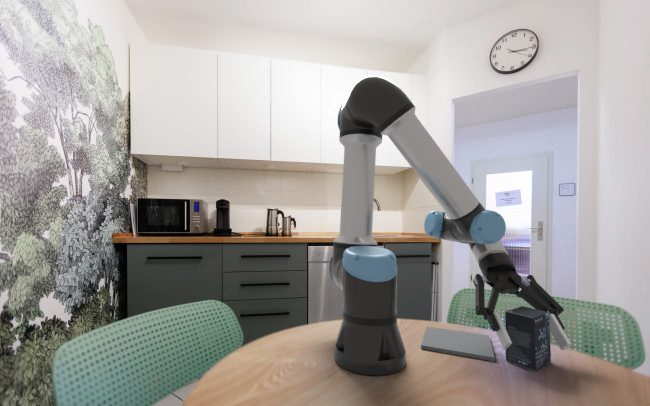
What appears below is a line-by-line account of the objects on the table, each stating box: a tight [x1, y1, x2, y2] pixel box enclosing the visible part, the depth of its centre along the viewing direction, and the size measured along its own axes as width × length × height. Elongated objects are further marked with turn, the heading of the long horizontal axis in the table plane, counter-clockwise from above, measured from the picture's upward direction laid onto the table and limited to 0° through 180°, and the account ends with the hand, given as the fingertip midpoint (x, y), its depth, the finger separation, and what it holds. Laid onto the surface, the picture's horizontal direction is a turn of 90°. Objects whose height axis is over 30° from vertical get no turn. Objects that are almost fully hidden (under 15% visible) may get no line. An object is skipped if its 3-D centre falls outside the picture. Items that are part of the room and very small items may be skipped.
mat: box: [420, 326, 496, 362], centre depth 73 cm, size 15×14×1 cm
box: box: [504, 305, 552, 372], centre depth 64 cm, size 8×6×11 cm
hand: (536, 346), depth 61 cm, fingers open, 11 cm apart
